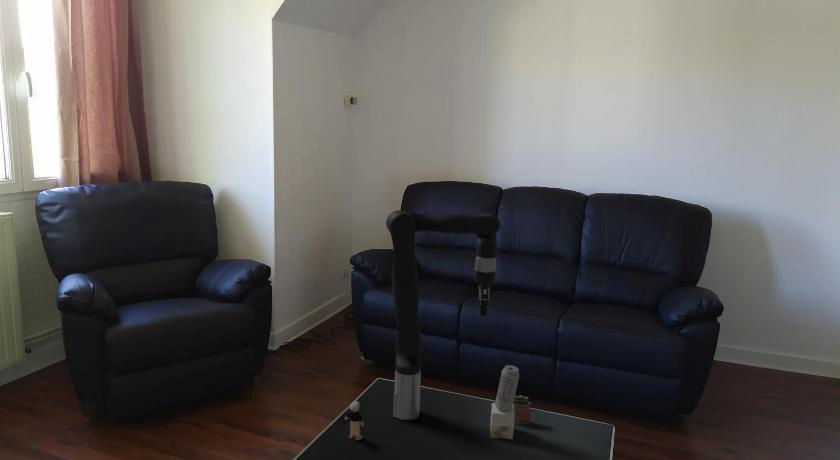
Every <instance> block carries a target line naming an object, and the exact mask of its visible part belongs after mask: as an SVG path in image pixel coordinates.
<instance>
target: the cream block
mask: <svg viewBox="0 0 840 460" xmlns="http://www.w3.org/2000/svg"><path fill="white" fill-rule="evenodd" d="M514 416H515V414H514V405H513V407H512V409H510V411H507V412H506V411H501V410H499V409H498V408H497V407H496V405H495V402H491V414H490V423H491V422H492V425H493V426H505V427H515V424H514Z"/></svg>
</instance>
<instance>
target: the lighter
mask: <svg viewBox="0 0 840 460" xmlns="http://www.w3.org/2000/svg"><path fill="white" fill-rule="evenodd" d="M513 405H514V414H515V416H514V425H530V423H531V421H530V416H531V407H532V403H531V402H530V401H529V397H528V396H523V395H521V394H520V395H519V396H518V395H515V398H514V402H513Z"/></svg>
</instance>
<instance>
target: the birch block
mask: <svg viewBox="0 0 840 460" xmlns="http://www.w3.org/2000/svg"><path fill="white" fill-rule="evenodd" d="M489 426H490V427H489V428H490V438H494V439H495V438H496V439H508V440H513V439H514V430H515V429H514V427H515V426H514V427H505V426H493V425H492V422H491V421H490V424H489Z"/></svg>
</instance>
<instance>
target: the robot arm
mask: <svg viewBox="0 0 840 460" xmlns="http://www.w3.org/2000/svg"><path fill="white" fill-rule="evenodd" d="M385 224H386V229H387V230H388V232H389V233H390V236H391V242H392V248H393V249H392V250H393V260H392V268H391V290H392V297H393V303H394V308H395V315H396V323H397V324H396V337H395V342H396V343H395V360H394V361H395V366H394V367H395V369H394V370H395V371H394V391H393V404H392V406H393V408H392V410H393V412H392V413H393V414H392V417H393V418H397V419H399V420H404V421H412V420H415V419H418V418H419V416H420V405H421V404H420V403H421V400H420V399H421V376H422V375H421V374H422V373H421V372H422V346H423V335H422V332H421V331H420V325H419V300H420V289H419V288H420V287H419V276H418V267H417V259H416V251H415V249H416V248H415V247H416V233H419V232H422V233H423V232H428V233H429V232H430V233H437V234H438V233H439V234H445V235H446V234H447V235H448V234H449V235H462V234H463V235H464V234H466V235H467V234H472V235H476V256H475V261H474V262H475V263H474V275H473V276H474V279H473V281H475V282H476V283H479V285H478V296H479V297H478V299H479V308H480V310H479V311H480V313H479V314H480V316H481V317H486V316H487V315H488V314H487V313H488V312H487V310H488V305H489V303H488V302H489V300H490V292H491V288H490V287H491V286H490V285H489V284H494V283H495V282H496V276H497V275H496V274H497V272H496V271H497V243H496V240H495V234H497V233H498V232H499V231H500V229H501V221H500V219H499V218H498V217H497V216H495V215H494V214H491V213H490V212H482V213H480V214H478V215H472V214H468V213H437V214H435V213H434V214H433V213H429V214H428V213H418V212H417V213H416V212H412V211H411V212H410V211H405V210H403V209H401V210H400V209H398V210H394V211H392V212H390V214H388V216H387V218H386V222H385Z"/></svg>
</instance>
